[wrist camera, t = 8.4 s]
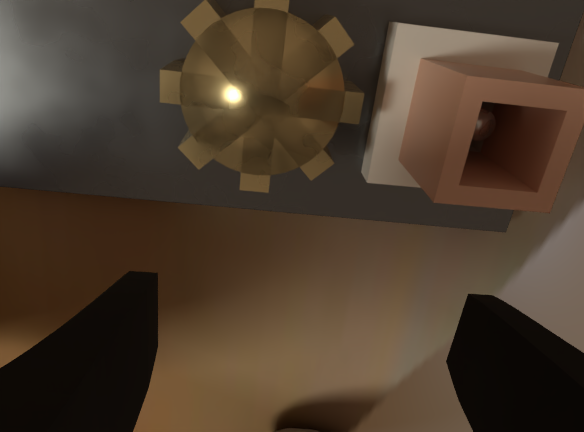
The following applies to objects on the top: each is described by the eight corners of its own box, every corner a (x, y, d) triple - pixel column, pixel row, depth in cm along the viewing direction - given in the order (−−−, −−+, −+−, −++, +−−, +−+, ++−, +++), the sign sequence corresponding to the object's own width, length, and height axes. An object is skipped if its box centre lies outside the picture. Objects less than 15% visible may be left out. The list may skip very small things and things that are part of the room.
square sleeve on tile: (361, 172, 18) (393, 230, 14) (389, 21, 16) (439, 29, 11) (494, 184, 19) (569, 245, 14) (539, 40, 17) (647, 55, 12)
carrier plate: (-18, 174, 19) (-86, 216, 15) (-68, -122, 15) (-177, -162, 11) (495, 222, 21) (543, 268, 17) (579, -25, 17) (665, -33, 13)
